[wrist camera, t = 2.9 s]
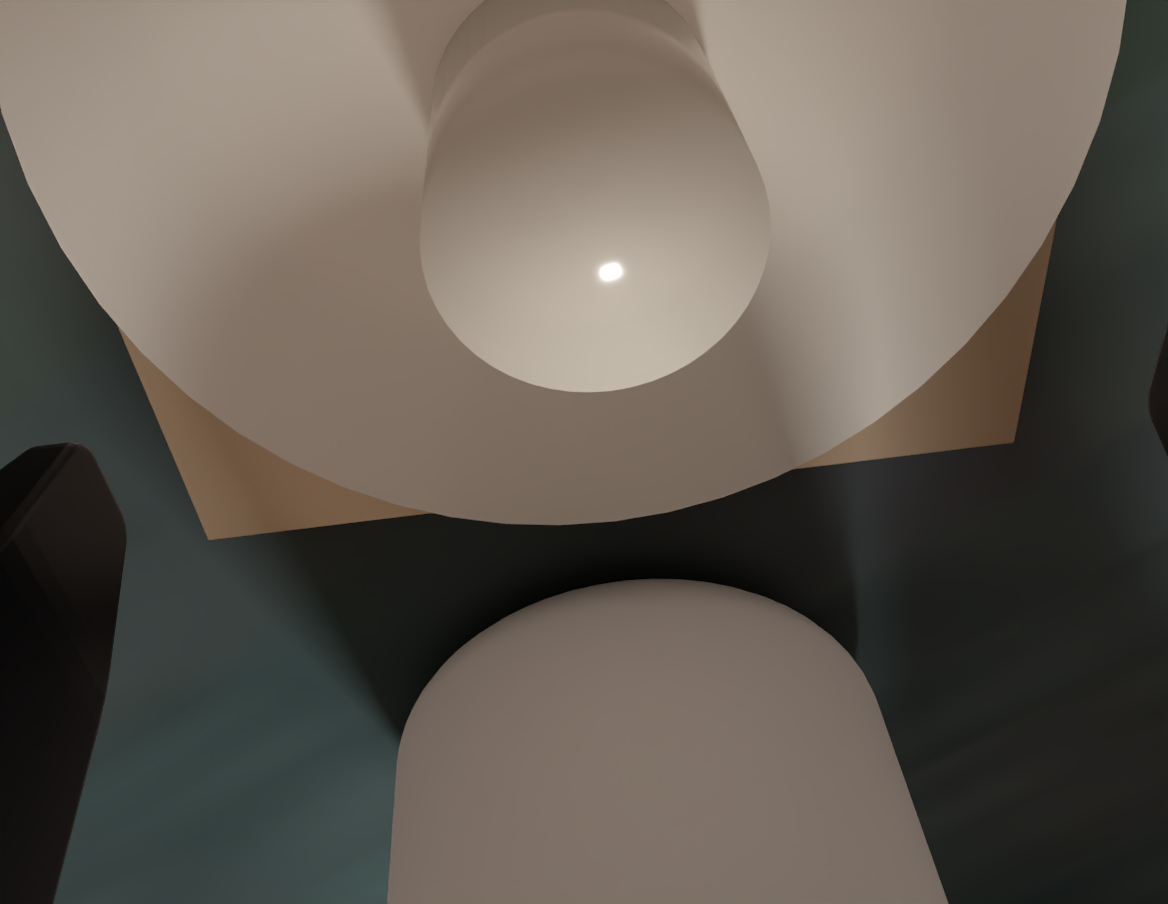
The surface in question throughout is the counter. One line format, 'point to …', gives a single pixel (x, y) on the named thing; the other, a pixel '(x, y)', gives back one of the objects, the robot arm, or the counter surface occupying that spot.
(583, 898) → the cup
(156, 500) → the counter surface
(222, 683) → the counter surface
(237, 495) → the trivet
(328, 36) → the lid
